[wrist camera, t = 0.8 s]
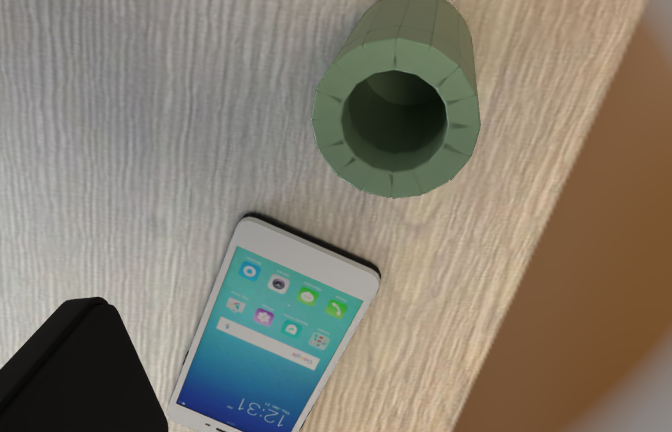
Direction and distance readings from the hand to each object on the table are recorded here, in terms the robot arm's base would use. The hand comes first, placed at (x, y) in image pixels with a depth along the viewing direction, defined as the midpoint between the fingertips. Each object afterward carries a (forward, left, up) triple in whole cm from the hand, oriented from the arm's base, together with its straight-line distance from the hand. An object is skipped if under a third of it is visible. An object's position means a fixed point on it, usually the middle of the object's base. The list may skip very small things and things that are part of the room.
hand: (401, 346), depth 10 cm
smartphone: (+14, -11, -18) cm, 25 cm away
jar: (0, -1, -17) cm, 17 cm away
